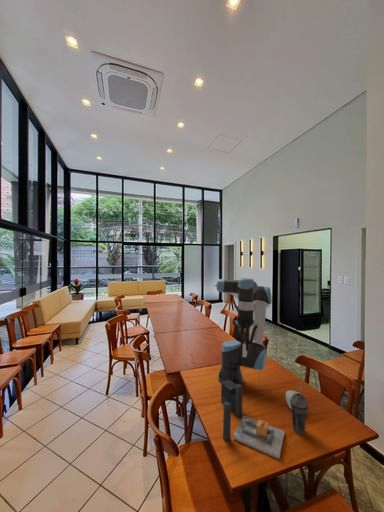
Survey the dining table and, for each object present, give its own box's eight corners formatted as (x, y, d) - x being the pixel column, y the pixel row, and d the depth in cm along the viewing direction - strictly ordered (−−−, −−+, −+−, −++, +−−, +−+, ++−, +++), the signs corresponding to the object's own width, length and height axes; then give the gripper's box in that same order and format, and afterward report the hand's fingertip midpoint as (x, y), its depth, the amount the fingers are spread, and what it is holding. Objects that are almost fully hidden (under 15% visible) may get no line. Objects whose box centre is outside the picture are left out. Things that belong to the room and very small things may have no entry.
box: (238, 408, 111) (239, 386, 112) (229, 411, 109) (230, 389, 109) (229, 399, 118) (230, 379, 119) (220, 402, 116) (221, 381, 116)
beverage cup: (286, 424, 101) (287, 380, 101) (301, 423, 102) (302, 379, 102) (295, 437, 94) (295, 389, 94) (311, 436, 94) (312, 389, 95)
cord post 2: (234, 416, 106) (235, 386, 106) (236, 412, 108) (237, 383, 108) (240, 418, 104) (241, 388, 104) (242, 414, 107) (243, 385, 107)
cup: (291, 414, 108) (291, 400, 108) (280, 401, 118) (280, 388, 118) (305, 412, 109) (306, 399, 109) (293, 400, 119) (293, 387, 119)
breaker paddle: (256, 434, 92) (256, 423, 92) (258, 428, 96) (258, 417, 96) (266, 438, 90) (266, 427, 90) (268, 432, 94) (268, 420, 94)
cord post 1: (221, 439, 92) (222, 404, 92) (224, 434, 94) (225, 401, 95) (228, 442, 90) (229, 407, 91) (231, 437, 93) (232, 403, 93)
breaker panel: (233, 439, 92) (233, 431, 92) (243, 418, 104) (243, 412, 104) (279, 459, 83) (279, 451, 83) (284, 434, 95) (284, 427, 95)
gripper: (230, 308, 112) (229, 355, 111) (256, 312, 105) (255, 362, 105) (235, 306, 118) (234, 350, 118) (260, 309, 112) (259, 356, 111)
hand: (244, 356), depth 111 cm, fingers closed
